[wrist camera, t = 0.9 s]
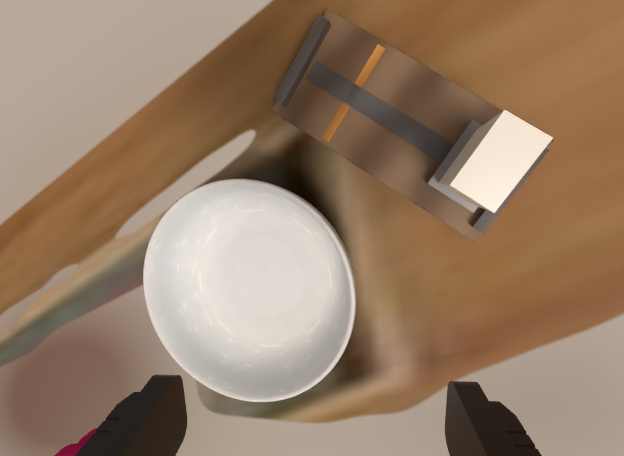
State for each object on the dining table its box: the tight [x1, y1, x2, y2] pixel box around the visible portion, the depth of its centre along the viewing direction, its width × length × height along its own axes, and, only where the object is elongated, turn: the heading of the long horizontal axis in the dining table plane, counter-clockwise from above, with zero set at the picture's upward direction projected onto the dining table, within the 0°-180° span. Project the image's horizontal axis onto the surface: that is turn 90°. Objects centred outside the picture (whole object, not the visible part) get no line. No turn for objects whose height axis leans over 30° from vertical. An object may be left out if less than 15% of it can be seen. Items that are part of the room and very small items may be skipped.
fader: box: [427, 110, 553, 213], centre depth 26 cm, size 4×6×10 cm
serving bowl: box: [143, 179, 356, 402], centre depth 36 cm, size 21×21×7 cm
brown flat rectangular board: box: [271, 9, 553, 241], centre depth 32 cm, size 22×10×3 cm, turn 57°
